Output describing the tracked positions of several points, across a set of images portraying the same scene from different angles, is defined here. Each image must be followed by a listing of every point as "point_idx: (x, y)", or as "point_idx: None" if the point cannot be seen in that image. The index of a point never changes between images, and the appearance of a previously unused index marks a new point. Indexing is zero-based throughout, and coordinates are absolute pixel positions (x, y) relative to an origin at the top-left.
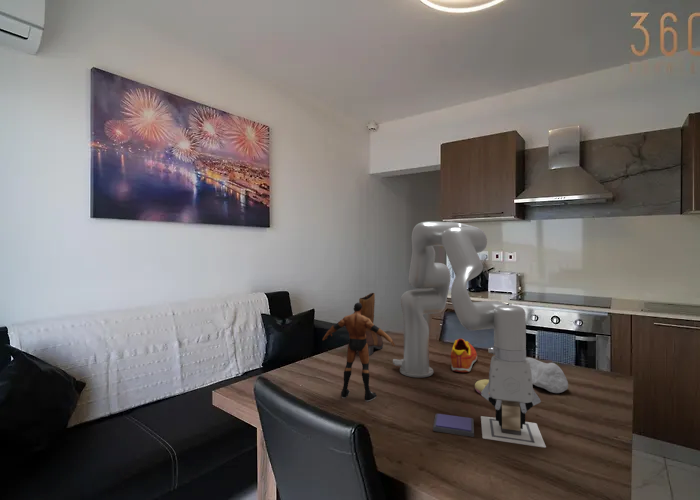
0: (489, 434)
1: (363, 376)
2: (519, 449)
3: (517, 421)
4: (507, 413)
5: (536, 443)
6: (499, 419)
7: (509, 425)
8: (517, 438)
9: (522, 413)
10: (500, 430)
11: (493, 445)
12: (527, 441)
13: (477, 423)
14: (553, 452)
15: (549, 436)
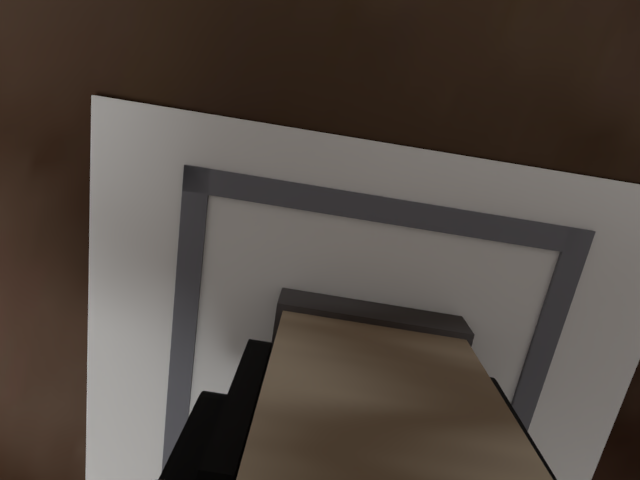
0: (601, 269)
1: None
2: (378, 18)
3: (305, 369)
4: (462, 461)
5: (170, 153)
6: (519, 421)
7: (399, 349)
8: (335, 227)
9: (199, 471)
10: None
11: (637, 60)
12: (251, 176)
13: (624, 468)
14: (42, 13)
15: (20, 320)
